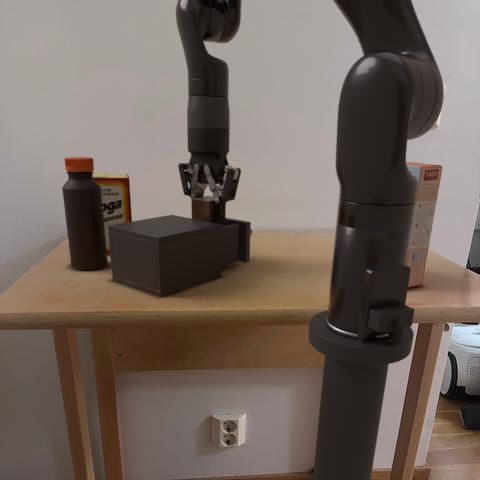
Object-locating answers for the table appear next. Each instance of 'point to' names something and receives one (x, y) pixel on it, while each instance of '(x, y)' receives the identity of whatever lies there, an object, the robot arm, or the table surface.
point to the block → (203, 208)
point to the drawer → (235, 241)
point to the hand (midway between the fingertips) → (208, 221)
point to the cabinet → (165, 253)
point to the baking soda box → (114, 200)
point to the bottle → (84, 215)
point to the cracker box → (422, 218)
